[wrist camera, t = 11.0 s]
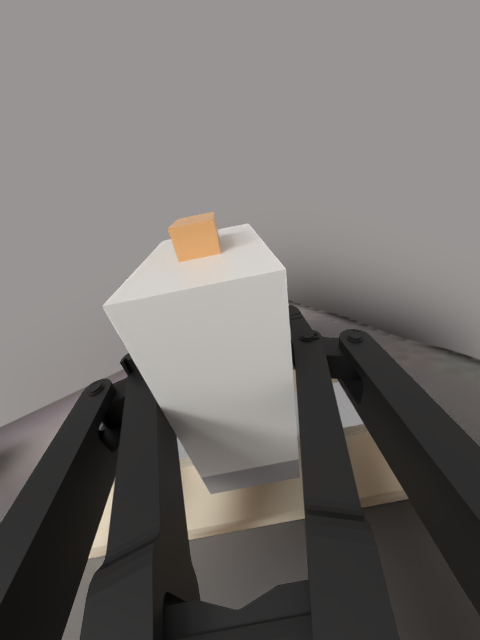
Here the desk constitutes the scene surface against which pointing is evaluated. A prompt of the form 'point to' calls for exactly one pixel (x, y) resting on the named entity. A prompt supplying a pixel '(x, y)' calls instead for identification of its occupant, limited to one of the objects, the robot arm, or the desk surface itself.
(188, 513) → the rail board
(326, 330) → the desk surface
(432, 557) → the desk surface
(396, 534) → the desk surface
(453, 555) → the robot arm
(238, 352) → the breaker module
